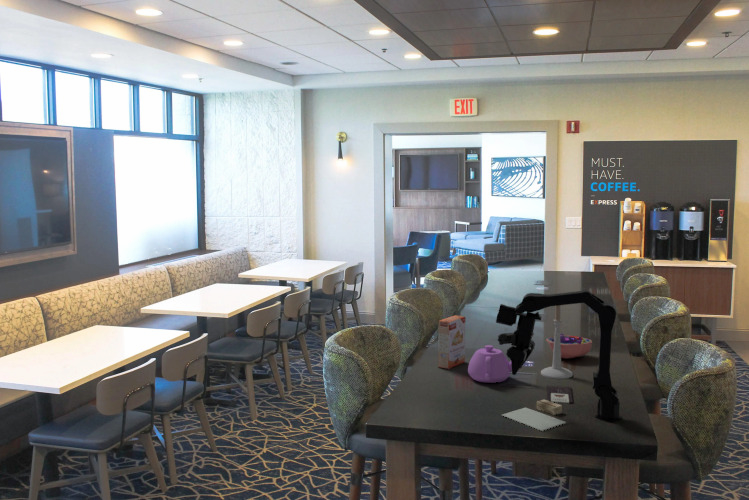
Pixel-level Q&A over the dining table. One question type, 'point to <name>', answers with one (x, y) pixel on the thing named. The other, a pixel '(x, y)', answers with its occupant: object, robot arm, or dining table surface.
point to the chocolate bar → (559, 394)
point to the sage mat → (534, 419)
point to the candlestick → (557, 354)
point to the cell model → (571, 346)
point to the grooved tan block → (549, 407)
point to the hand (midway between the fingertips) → (516, 371)
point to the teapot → (489, 365)
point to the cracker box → (451, 341)
